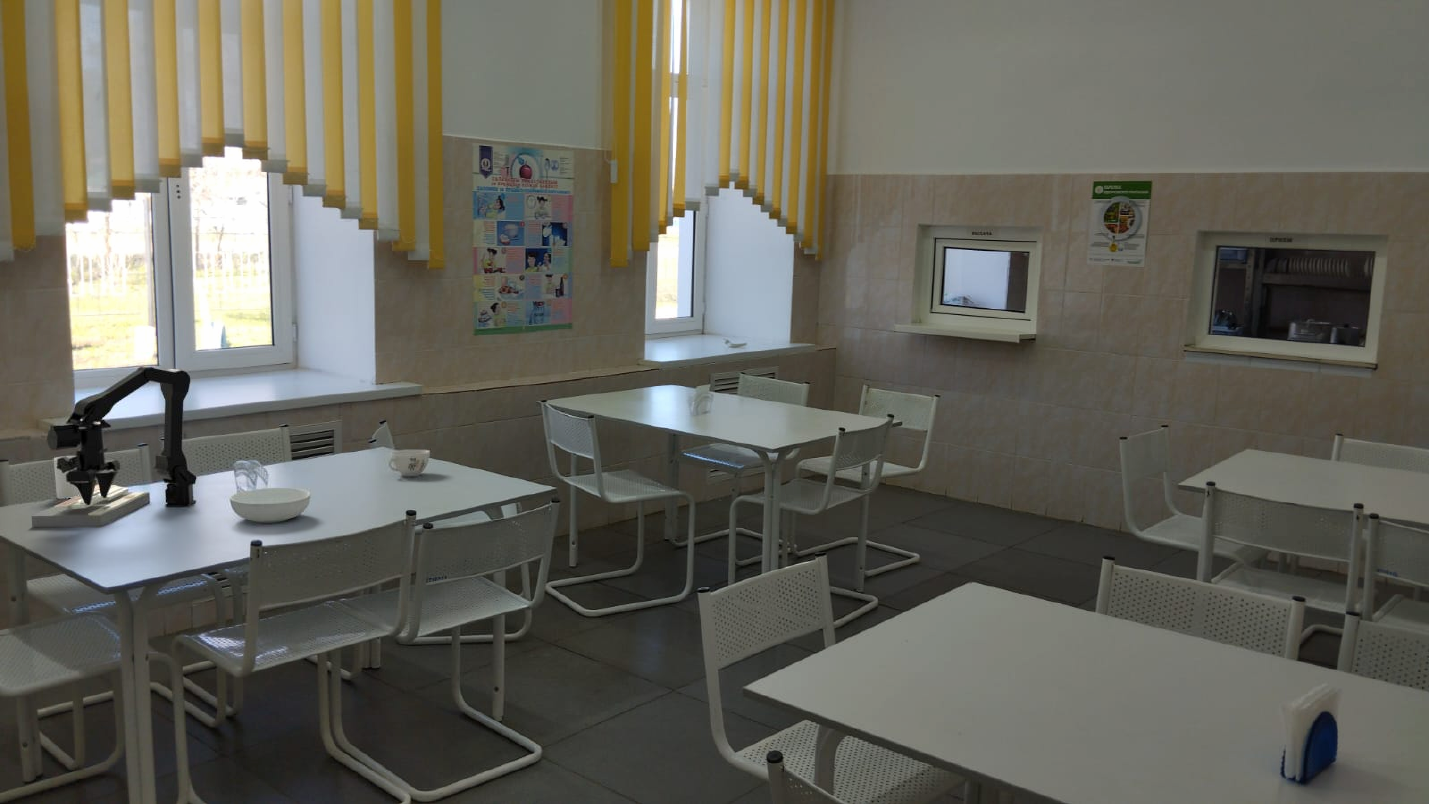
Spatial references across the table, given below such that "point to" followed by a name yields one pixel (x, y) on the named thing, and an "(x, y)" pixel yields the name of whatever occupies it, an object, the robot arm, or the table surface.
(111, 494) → the cream slotted panel
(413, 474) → the teacup
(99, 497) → the rocker
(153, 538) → the table surface
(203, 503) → the table surface
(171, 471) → the robot arm
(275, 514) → the serving bowl
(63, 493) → the mug
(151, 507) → the table surface
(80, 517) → the switch panel
